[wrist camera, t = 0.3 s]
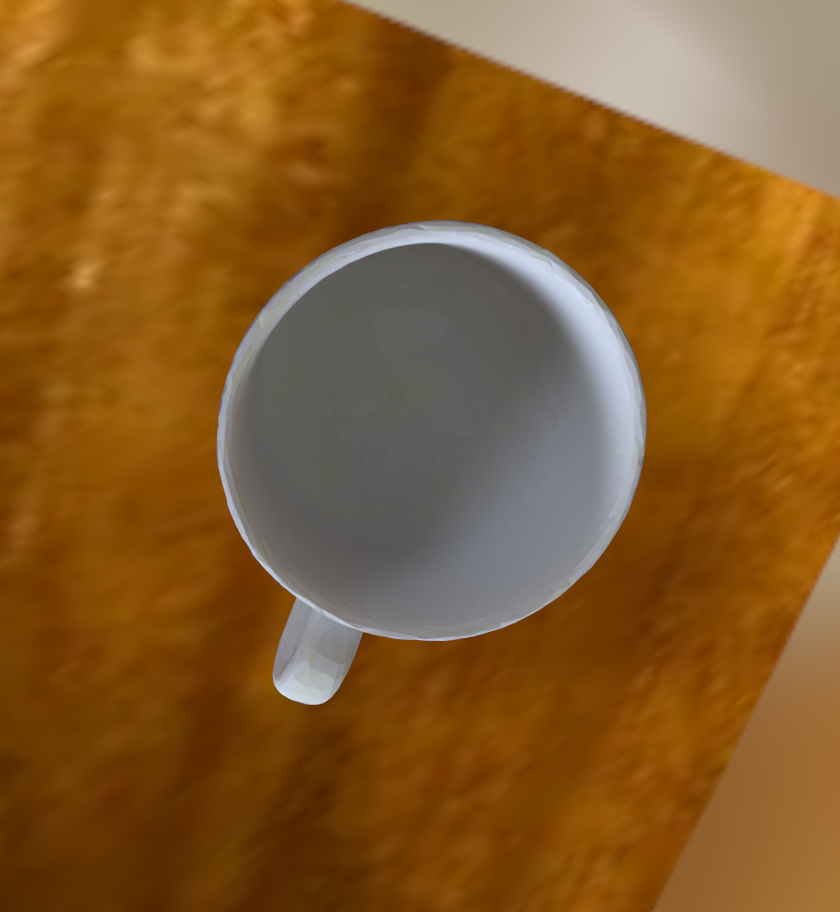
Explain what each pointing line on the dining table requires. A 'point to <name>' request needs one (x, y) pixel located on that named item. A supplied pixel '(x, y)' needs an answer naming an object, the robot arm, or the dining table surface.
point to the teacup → (427, 440)
